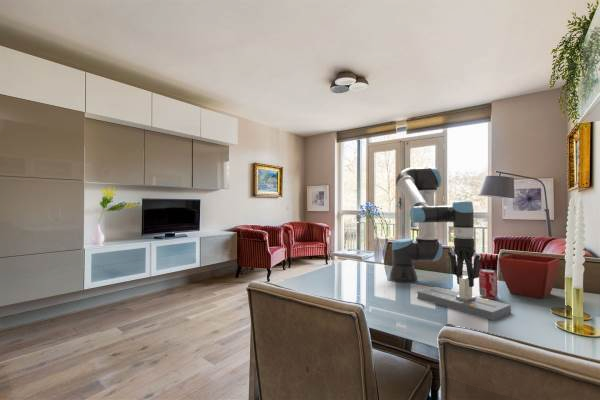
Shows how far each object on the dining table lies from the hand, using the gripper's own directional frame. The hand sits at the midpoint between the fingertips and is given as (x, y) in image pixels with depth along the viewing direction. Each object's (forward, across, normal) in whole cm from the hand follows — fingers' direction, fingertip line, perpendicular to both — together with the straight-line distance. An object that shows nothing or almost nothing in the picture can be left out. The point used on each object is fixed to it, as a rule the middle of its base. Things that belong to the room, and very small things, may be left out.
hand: (465, 293), depth 121 cm
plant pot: (+6, +6, +42) cm, 43 cm away
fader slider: (+2, 0, 0) cm, 2 cm away
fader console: (+6, -2, 0) cm, 6 cm away
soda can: (+6, -2, +21) cm, 22 cm away
